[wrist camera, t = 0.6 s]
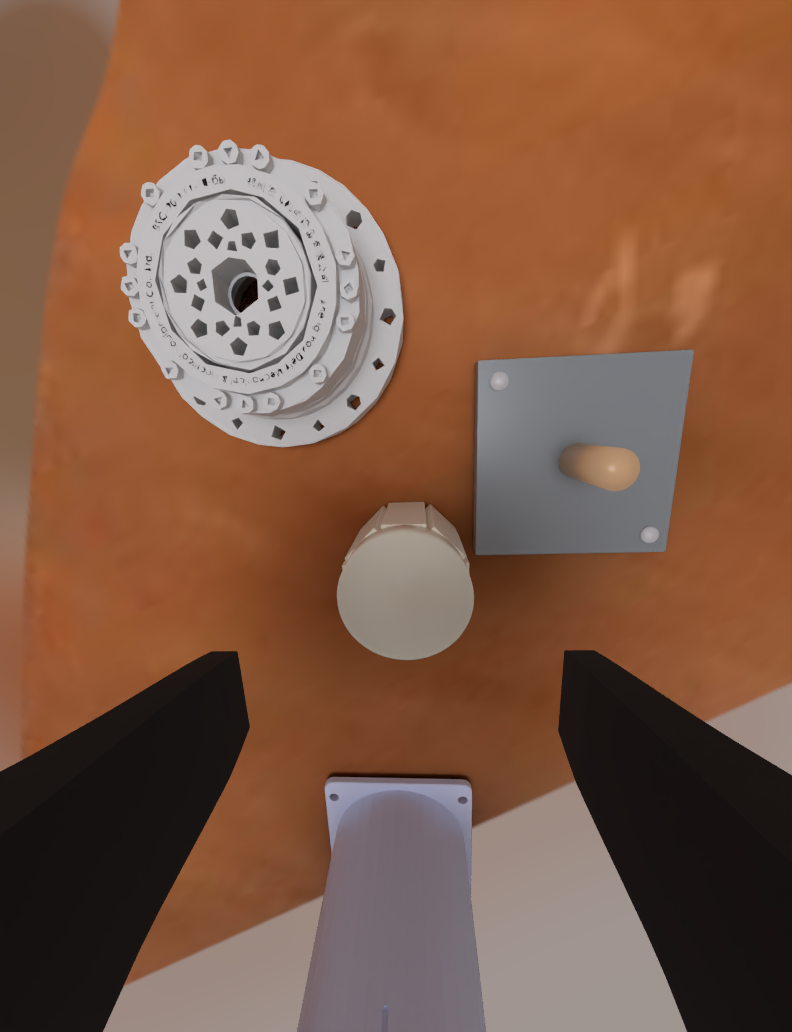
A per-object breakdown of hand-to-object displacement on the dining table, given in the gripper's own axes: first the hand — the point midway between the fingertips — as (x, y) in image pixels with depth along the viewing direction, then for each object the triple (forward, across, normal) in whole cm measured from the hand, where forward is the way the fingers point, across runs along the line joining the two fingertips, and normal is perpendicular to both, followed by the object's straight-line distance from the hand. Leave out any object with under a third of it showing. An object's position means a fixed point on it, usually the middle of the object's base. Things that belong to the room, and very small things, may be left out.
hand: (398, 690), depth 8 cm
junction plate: (+9, -7, -4) cm, 12 cm away
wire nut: (+9, 0, 0) cm, 9 cm away
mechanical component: (+10, +5, -10) cm, 15 cm away
